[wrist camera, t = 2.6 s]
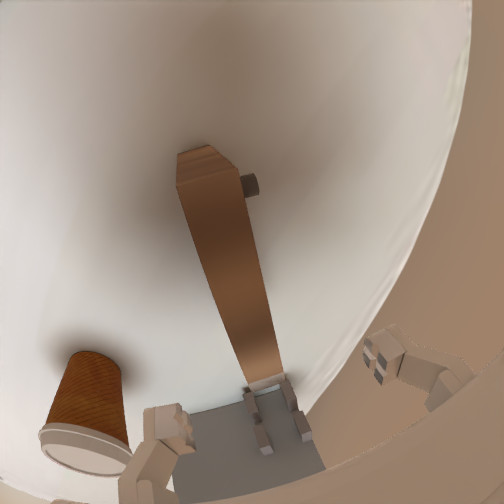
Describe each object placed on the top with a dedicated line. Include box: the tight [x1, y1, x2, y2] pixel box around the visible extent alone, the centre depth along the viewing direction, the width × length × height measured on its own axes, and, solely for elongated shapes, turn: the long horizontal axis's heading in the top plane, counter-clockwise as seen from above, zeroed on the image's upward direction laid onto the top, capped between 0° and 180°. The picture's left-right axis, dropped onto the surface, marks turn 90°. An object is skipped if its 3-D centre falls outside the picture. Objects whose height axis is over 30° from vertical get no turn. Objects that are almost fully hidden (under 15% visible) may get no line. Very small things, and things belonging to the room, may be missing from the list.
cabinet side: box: [172, 380, 326, 504], centre depth 27 cm, size 5×18×14 cm, turn 102°
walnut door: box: [176, 145, 285, 393], centre depth 18 cm, size 14×4×10 cm, turn 12°
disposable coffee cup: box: [38, 351, 133, 478], centre depth 20 cm, size 10×10×12 cm
